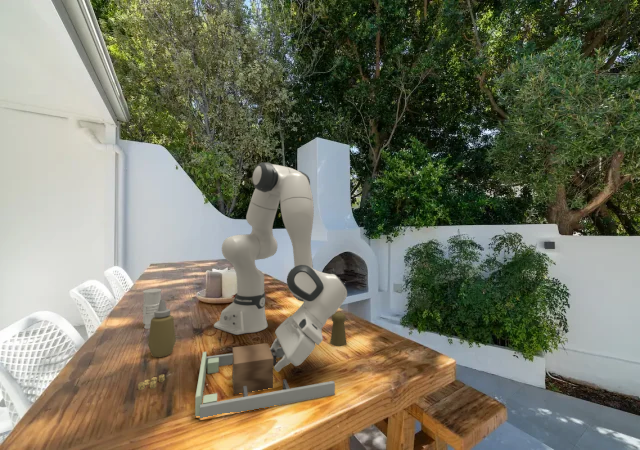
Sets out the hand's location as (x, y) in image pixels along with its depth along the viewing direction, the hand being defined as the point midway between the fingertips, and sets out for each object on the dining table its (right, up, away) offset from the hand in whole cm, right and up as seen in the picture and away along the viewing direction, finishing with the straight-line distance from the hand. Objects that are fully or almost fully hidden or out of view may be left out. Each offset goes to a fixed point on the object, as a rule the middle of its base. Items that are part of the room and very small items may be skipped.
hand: (272, 361), depth 80 cm
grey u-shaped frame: (-2, -5, -1) cm, 5 cm away
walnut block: (-5, -5, -2) cm, 7 cm away
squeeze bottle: (-39, -5, +14) cm, 42 cm away
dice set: (-32, -5, -4) cm, 33 cm away
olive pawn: (+20, -5, +24) cm, 32 cm away
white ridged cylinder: (-57, -4, +39) cm, 69 cm away
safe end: (-16, -5, -5) cm, 17 cm away
